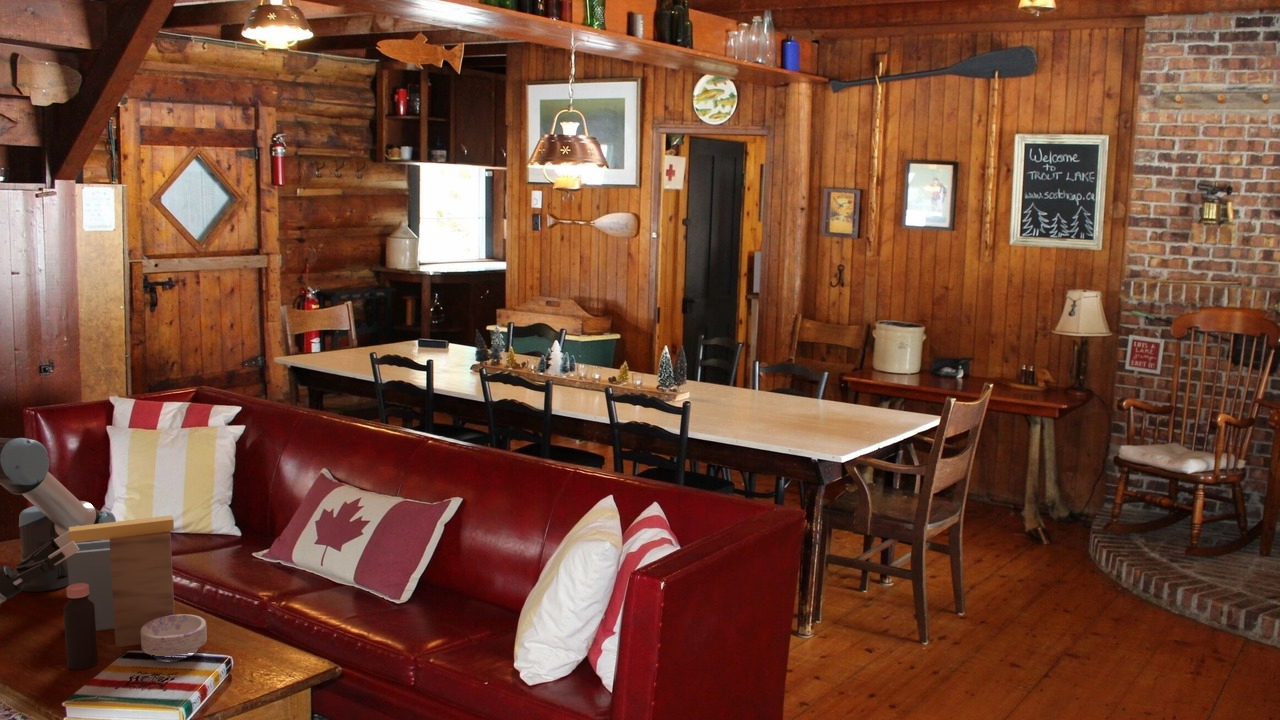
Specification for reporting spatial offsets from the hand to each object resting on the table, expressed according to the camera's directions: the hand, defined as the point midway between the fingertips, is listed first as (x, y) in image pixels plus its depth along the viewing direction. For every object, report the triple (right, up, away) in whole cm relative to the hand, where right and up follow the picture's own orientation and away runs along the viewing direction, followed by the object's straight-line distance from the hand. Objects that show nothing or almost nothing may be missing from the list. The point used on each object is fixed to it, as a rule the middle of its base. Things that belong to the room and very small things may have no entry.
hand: (78, 537), depth 294 cm
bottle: (+4, -30, -7) cm, 31 cm away
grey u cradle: (-2, -26, +19) cm, 32 cm away
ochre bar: (+9, 0, +4) cm, 10 cm away
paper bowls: (+24, -30, 0) cm, 38 cm away
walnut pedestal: (+13, -27, +10) cm, 32 cm away
